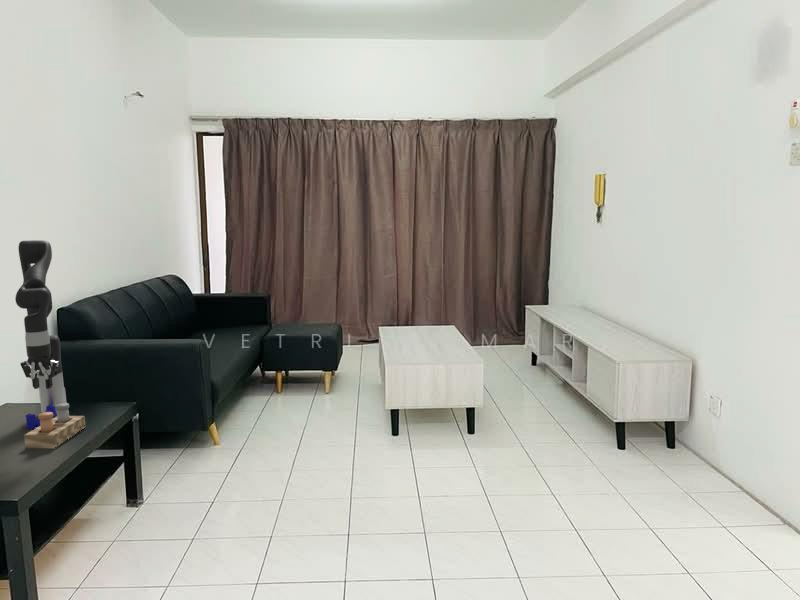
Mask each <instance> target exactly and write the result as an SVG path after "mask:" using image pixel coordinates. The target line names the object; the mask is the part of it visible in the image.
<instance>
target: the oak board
mask: <svg viewBox="0 0 800 600" xmlns="http://www.w3.org/2000/svg"><path fill="white" fill-rule="evenodd" d="M85 416H86V415H69V420H70V421H68V422H67V423H58V420H57V415H56V417H55V418H53V428H54V430H53V431H52V432H50V433H41V426H39V427H37V428H36V429H34V430H30V431H28V432H27V433H24V434H23V436H24V437H23V439H24V445H25V449H56V448H58V447H59V446H60V444H61V443H62V444H64V443H65V442H67V441H68V440H69V438H70V437H71V438H73V437H74V436H75V435H74V434H76V433H77V432H79V431H80V432H82V431H83V430H82V429H84V428H85V427H86V426H87V425H86V417H85ZM85 429H86V428H85ZM85 429H84V430H85ZM81 430H82V431H81ZM80 432H79V433H80ZM77 434H78V433H77ZM77 434H76V435H77ZM73 435H74V436H73ZM72 436H73V437H72ZM71 438H70V439H71ZM67 439H68V440H67ZM66 440H67V441H66ZM64 441H65V442H64ZM63 442H64V443H63ZM62 444H61V445H62ZM58 445H59V446H58ZM57 446H58V447H57ZM55 447H56V448H55Z"/></svg>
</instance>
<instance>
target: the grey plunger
mask: <svg viewBox="0 0 800 600" xmlns="http://www.w3.org/2000/svg"><path fill="white" fill-rule="evenodd" d="M69 409H70V403H68V402H67V403H61V404H57V405H55V410H57V414H56V416H57V420H58V423H67V422H68V421H70V420H69V416H70V411H69Z"/></svg>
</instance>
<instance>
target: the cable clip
mask: <svg viewBox="0 0 800 600" xmlns="http://www.w3.org/2000/svg"><path fill="white" fill-rule="evenodd" d="M46 412H53V417H52V419H53V418H55V417H56V416H57V414H56V410H55V406H53V405H48V406H46ZM25 418H26V419H25V421H26V428H27V430H31V429H35V427H39V426H41V425H40V419H38V418H37V416H36V414H33V413H28V414H25Z"/></svg>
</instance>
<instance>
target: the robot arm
mask: <svg viewBox="0 0 800 600" xmlns="http://www.w3.org/2000/svg"><path fill="white" fill-rule="evenodd" d="M18 256H19V261H20V262H19V263H20V268H21V272H22V278H23V281H22V284H21V286H20V288H19V289H17V291H16V294H15V297H14V298H15V304H16V305H17V306H18V307H19V308H20V309H26V313H27V315H26V316H24V317H23V318H24V321H23V322H24V323H23V324H24V330H25V334H24V335H25V336H24V338H25V341H24V342H25V349H26V356H27V360H24V361H21V362H20V366H21V368H22V371H23V373H24V376H25V378H30V380H31V385H32V387H33V389H34V390H37V389H38V392H39V402H40V411H41V413H45V412H46V406H48V405H53V406H55V405H57V404H61V403H68V402H67V394H66V392H67V391H66V388H65V385H64V384H65V383H64V376H63V375H64V374H63V366H62V353H61V352H62V351H61V340H60V337H59V336H58V335H56V334H54V335H50V333H49V329H48V317H49V316H50V315H51V313H52V310H53V301H52V300H53V297H52V293H51V290H50V289H49V287H48V286H47V285H46V283H47V282H46V281H47V274H48V271H49V269H50V265H51V262H52V256H53V252H52V245H51V243H50V242H49V241H47V240H44V239H43V240H42V239H40V240H37V239H36V240H21V241H20V242H19V243H18ZM56 415H57V410H56Z"/></svg>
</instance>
